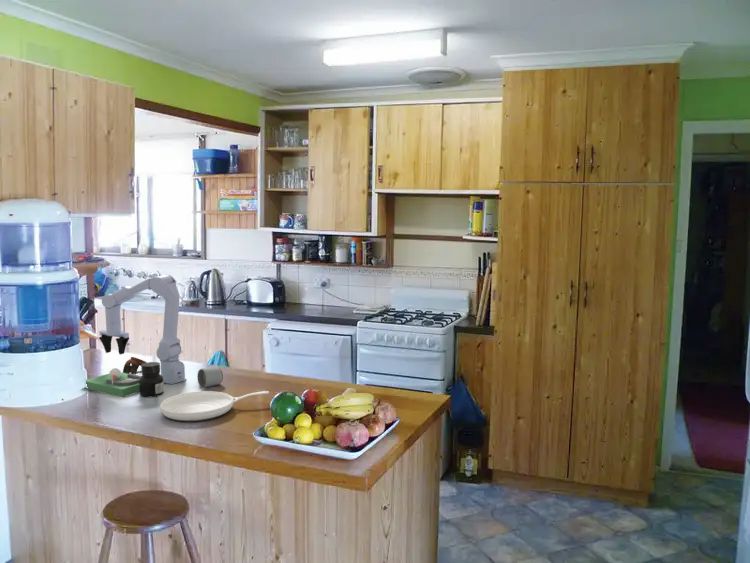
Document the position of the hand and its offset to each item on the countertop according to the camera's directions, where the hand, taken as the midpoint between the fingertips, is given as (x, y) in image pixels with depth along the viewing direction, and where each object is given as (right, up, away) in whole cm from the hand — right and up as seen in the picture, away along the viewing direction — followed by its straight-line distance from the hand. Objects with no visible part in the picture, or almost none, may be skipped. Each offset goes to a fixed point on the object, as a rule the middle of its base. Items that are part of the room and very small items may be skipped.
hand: (115, 353), depth 261 cm
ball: (+6, -7, -13) cm, 16 cm away
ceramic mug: (+43, -12, -11) cm, 46 cm away
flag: (+10, -13, -24) cm, 29 cm away
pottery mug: (+6, -10, +7) cm, 13 cm away
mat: (+8, -12, -14) cm, 20 cm away
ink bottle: (+24, -13, -24) cm, 36 cm away
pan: (+54, -16, -42) cm, 70 cm away
